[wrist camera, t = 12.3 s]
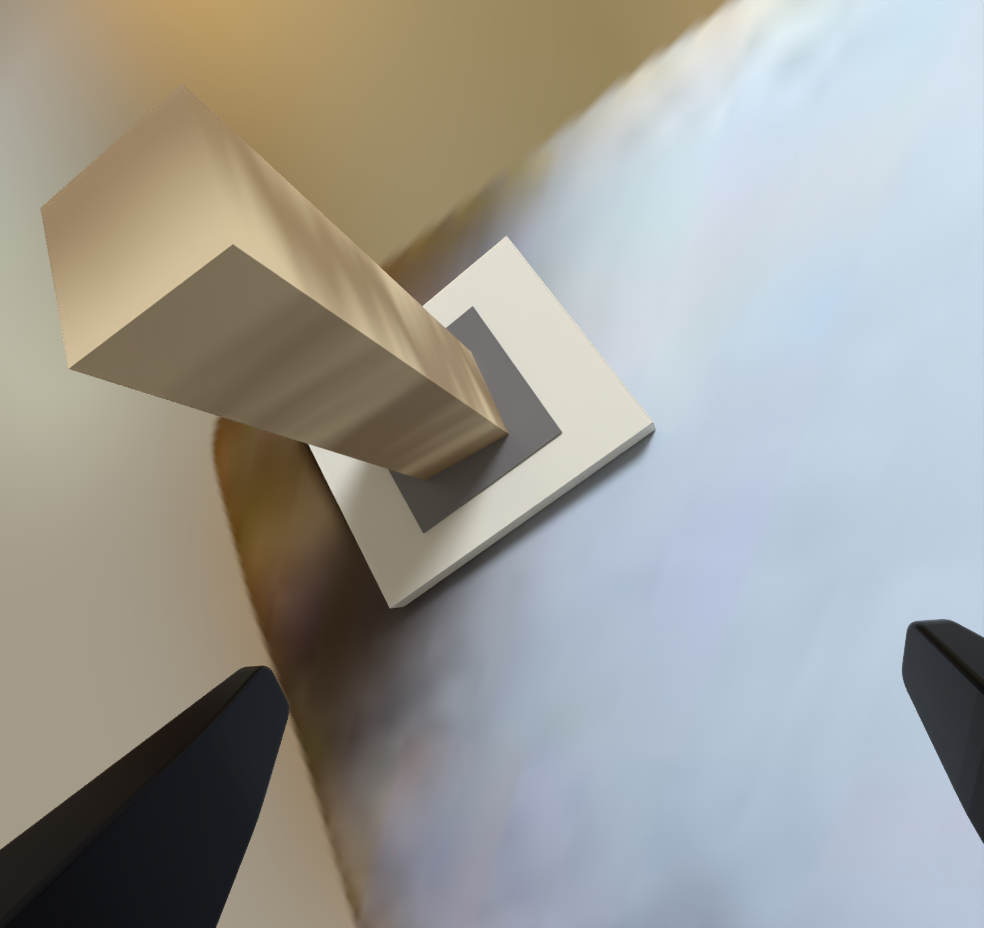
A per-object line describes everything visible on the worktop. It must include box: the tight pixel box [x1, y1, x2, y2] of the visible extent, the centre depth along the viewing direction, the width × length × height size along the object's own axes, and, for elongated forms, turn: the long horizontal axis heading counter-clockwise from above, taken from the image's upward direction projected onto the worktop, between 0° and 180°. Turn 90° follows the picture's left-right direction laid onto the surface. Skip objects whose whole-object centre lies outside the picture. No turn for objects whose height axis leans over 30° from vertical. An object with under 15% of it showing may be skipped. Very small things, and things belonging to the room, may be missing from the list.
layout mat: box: [308, 236, 656, 608], centre depth 20 cm, size 11×9×1 cm
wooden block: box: [41, 84, 509, 481], centre depth 14 cm, size 4×4×12 cm
